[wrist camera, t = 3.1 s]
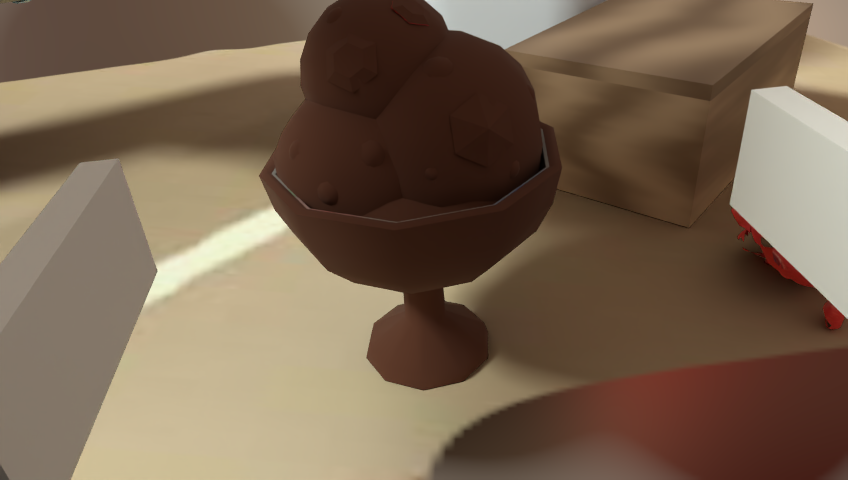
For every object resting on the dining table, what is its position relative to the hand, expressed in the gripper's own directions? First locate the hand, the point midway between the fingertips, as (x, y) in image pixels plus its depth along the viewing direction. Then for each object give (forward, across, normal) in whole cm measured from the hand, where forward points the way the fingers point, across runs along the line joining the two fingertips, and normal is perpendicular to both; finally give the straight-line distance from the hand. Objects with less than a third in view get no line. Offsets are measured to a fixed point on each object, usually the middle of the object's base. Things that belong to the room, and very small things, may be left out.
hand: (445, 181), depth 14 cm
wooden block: (+27, +17, -13) cm, 35 cm away
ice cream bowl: (+10, 0, -13) cm, 17 cm away
